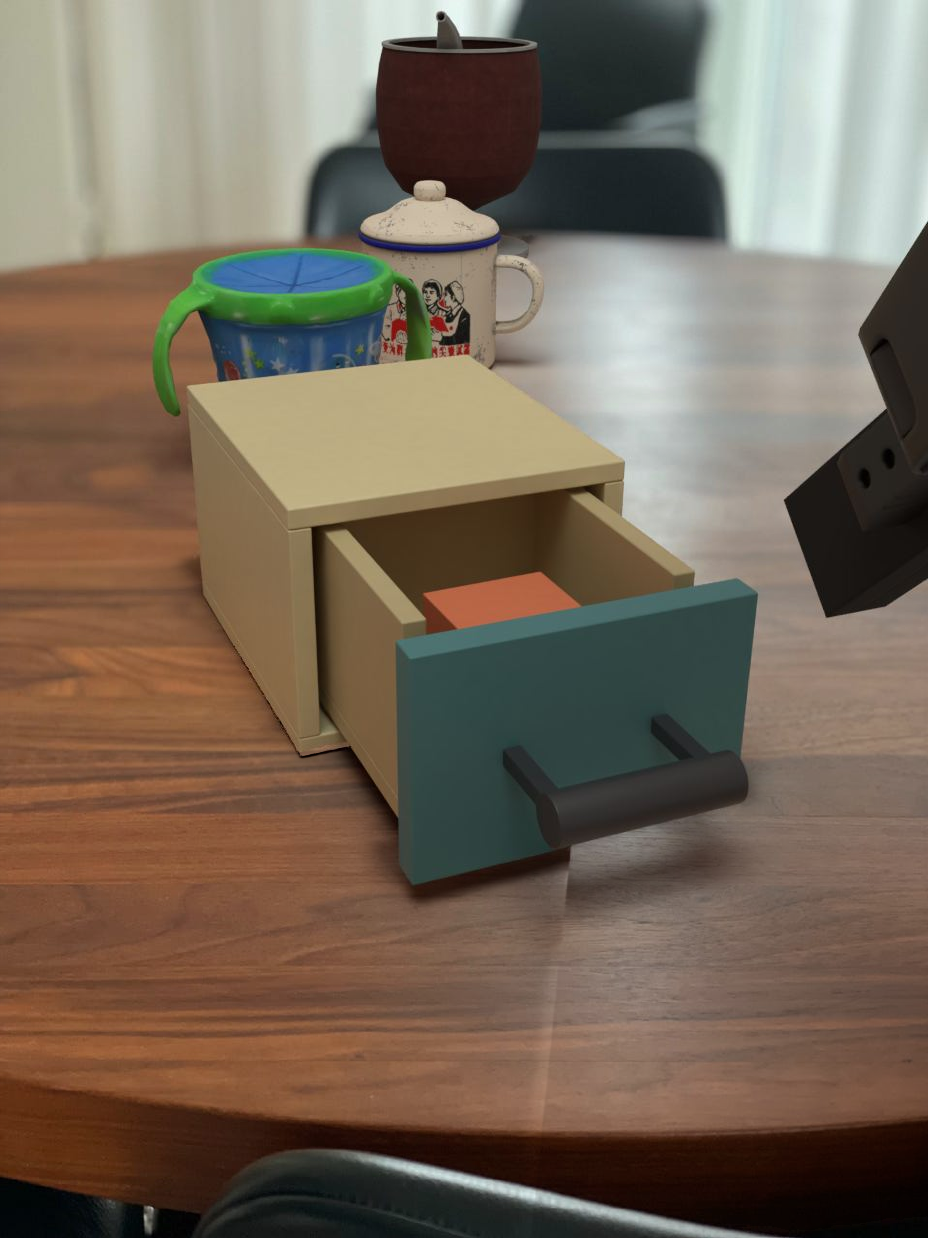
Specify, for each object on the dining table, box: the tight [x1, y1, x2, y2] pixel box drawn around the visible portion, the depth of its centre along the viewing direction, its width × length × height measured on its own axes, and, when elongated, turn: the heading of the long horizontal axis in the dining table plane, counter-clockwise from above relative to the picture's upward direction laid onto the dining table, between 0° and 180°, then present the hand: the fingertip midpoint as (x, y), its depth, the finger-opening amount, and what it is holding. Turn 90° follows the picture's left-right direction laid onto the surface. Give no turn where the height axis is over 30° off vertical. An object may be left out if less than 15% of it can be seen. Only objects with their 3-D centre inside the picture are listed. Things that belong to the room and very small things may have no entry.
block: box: [423, 572, 582, 635], centre depth 49 cm, size 4×4×4 cm
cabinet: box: [186, 355, 626, 752], centre depth 58 cm, size 15×13×10 cm
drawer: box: [310, 487, 759, 886], centre depth 48 cm, size 18×11×8 cm, turn 23°
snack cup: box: [152, 247, 432, 418], centre depth 78 cm, size 16×10×10 cm
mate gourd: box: [375, 10, 543, 259], centre depth 121 cm, size 16×14×20 cm
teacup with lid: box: [358, 180, 545, 369], centre depth 93 cm, size 12×9×12 cm
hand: (834, 552), depth 30 cm, fingers closed
